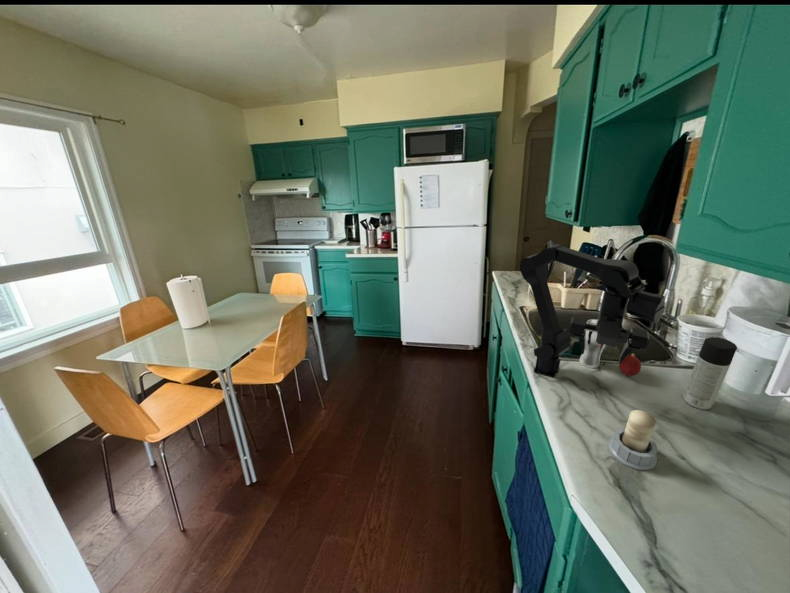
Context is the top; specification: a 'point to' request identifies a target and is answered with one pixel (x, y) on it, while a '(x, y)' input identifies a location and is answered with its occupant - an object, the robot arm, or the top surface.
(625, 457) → the round socket
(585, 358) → the beer glass
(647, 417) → the birch plug
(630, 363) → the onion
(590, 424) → the top surface
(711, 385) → the spray can
